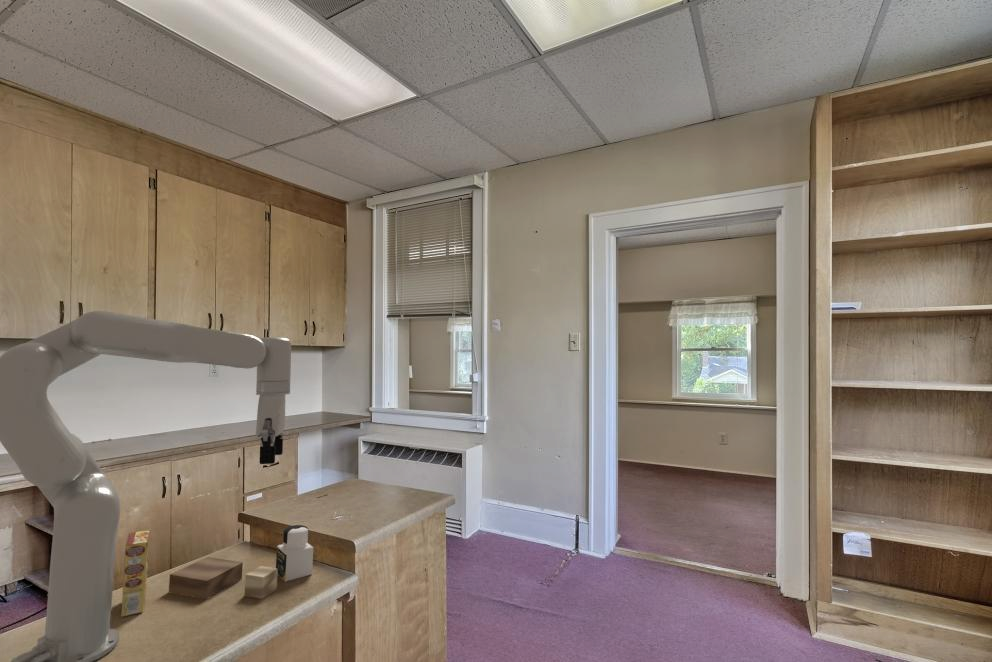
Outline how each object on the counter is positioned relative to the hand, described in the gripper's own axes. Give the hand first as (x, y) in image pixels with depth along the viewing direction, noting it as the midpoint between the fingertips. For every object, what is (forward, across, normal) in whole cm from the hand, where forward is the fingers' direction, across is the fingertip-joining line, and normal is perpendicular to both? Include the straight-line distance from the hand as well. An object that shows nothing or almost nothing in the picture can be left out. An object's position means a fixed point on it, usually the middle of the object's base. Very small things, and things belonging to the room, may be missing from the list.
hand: (271, 459), depth 117 cm
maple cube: (+32, -2, -2) cm, 33 cm away
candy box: (+32, 0, -28) cm, 42 cm away
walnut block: (+32, -8, -16) cm, 37 cm away
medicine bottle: (+33, -11, +4) cm, 35 cm away
